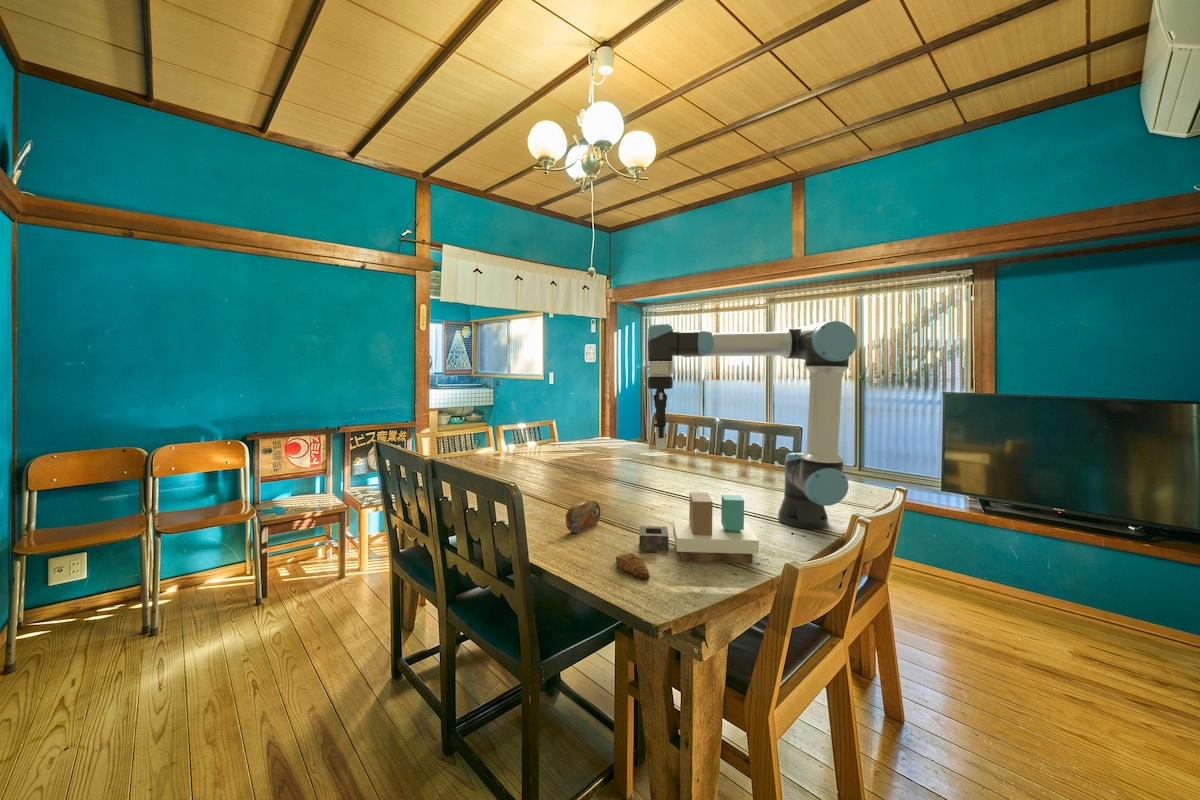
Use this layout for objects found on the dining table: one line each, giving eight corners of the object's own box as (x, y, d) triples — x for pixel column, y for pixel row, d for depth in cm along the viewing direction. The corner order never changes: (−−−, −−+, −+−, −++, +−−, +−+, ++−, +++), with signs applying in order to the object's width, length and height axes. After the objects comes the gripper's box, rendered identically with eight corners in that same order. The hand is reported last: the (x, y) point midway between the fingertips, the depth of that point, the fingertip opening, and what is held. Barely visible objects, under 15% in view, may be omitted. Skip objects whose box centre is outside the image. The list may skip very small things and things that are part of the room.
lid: (746, 533, 136) (746, 490, 135) (758, 553, 122) (759, 505, 121) (673, 532, 138) (673, 489, 137) (676, 551, 123) (677, 504, 123)
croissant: (606, 565, 125) (606, 547, 125) (627, 560, 129) (627, 542, 128) (635, 586, 114) (635, 565, 113) (658, 579, 117) (658, 559, 117)
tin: (571, 536, 146) (571, 509, 146) (564, 534, 148) (563, 507, 148) (601, 523, 158) (601, 498, 158) (593, 521, 160) (593, 496, 160)
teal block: (739, 550, 132) (740, 495, 131) (743, 557, 127) (744, 500, 126) (720, 549, 132) (721, 494, 131) (724, 557, 127) (724, 499, 126)
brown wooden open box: (742, 549, 135) (742, 528, 135) (751, 566, 123) (752, 544, 123) (677, 547, 137) (678, 526, 136) (681, 564, 125) (681, 542, 125)
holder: (666, 543, 140) (666, 526, 140) (668, 553, 132) (668, 536, 132) (639, 542, 141) (639, 525, 140) (639, 553, 133) (639, 535, 132)
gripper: (647, 375, 158) (647, 438, 159) (647, 376, 133) (648, 452, 135) (670, 374, 157) (670, 438, 159) (675, 376, 132) (675, 452, 134)
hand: (660, 445), depth 147 cm, fingers open, 13 cm apart
